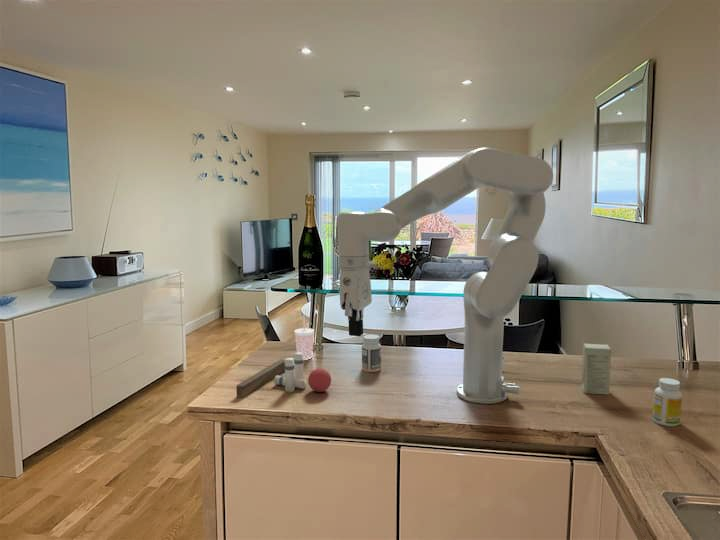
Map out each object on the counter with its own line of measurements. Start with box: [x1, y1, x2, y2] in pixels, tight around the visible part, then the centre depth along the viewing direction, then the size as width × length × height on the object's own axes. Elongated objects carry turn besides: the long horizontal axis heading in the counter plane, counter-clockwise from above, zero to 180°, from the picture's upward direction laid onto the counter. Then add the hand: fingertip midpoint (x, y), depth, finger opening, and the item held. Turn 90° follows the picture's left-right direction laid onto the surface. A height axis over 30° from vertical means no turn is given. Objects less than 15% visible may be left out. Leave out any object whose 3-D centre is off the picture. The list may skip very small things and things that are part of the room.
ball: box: [307, 368, 332, 393], centre depth 134 cm, size 6×6×6 cm
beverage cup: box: [293, 314, 315, 361], centre depth 161 cm, size 6×6×14 cm
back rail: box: [235, 359, 285, 398], centre depth 141 cm, size 2×22×3 cm, turn 159°
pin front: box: [273, 375, 308, 389], centre depth 138 cm, size 2×2×8 cm
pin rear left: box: [284, 357, 296, 393], centre depth 135 cm, size 2×2×8 cm
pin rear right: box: [293, 351, 305, 379], centre depth 139 cm, size 2×2×8 cm
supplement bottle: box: [651, 377, 683, 427], centre depth 116 cm, size 5×5×10 cm
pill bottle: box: [361, 334, 382, 373], centre depth 151 cm, size 6×6×10 cm
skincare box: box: [581, 343, 612, 395], centre depth 133 cm, size 6×4×12 cm
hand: (356, 334), depth 129 cm, fingers closed
